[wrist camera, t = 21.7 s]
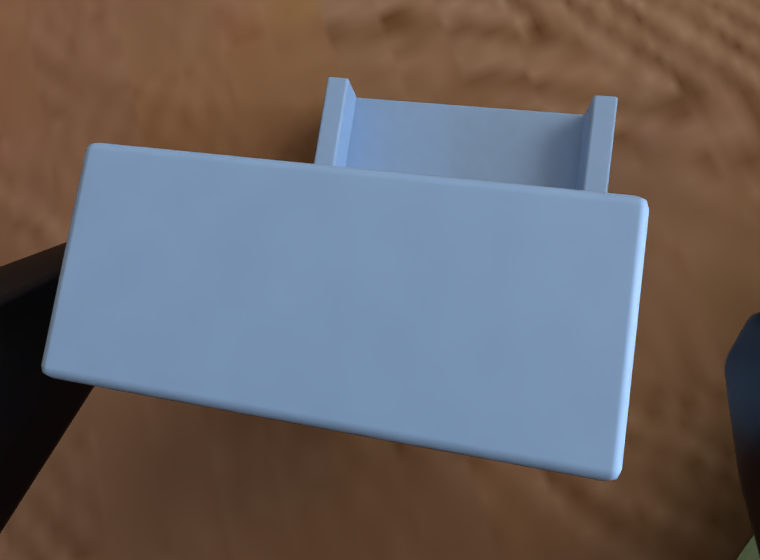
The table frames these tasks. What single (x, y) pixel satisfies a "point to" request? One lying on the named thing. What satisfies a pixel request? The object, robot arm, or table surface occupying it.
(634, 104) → the table surface
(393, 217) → the blue post stand
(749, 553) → the green planter box
